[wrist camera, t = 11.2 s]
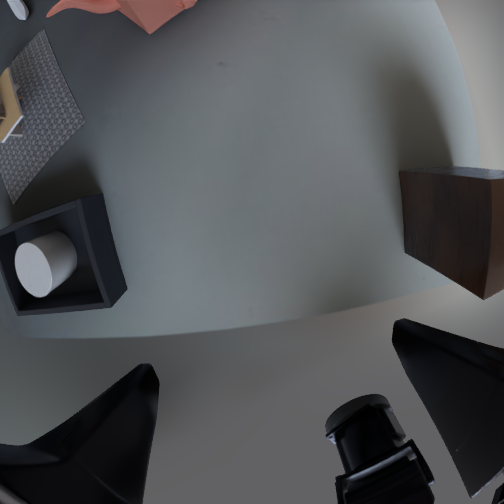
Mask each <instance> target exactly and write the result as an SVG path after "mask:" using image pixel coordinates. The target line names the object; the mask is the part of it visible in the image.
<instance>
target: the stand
mask: <svg viewBox="0 0 504 504" xmlns="http://www.w3.org/2000/svg"><path fill="white" fill-rule="evenodd" d="M399 174H400V183H401V192H402V203H403V216H404V235H405V253H406V254H408V255H410V256H412V257H414V258H415V259H417V260H419V261H421V262H422V263H424V264H426V265H428V266H429V267H431V268H433V269H434V270H436V271H438V272H439V273H441V274H443V275H444V276H446V277H448V278H449V279H451V280H453V281H454V282H456V283H457V284H459V285H461V286H462V287H464V288H465V289H467V290H469V291H470V292H472V293H473V294H475V295H476V296H478V297H479V298H481V299H482V300H485V299H487V298H489V297H491V296H492V295H494V294H496V293H498V292H499V291H501V290H503V289H504V171H501V170H493V169H482V168H471V167H457V166H452V167H438V168H426V169H415V170H405V171H399Z"/></svg>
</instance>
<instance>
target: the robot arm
mask: <svg viewBox="0 0 504 504" xmlns="http://www.w3.org/2000/svg"><path fill="white" fill-rule="evenodd" d="M392 343H393V346H394V348H395V350H396V352H397V355H398V356H399V359H400V361H401V363H402V366H403V368H404V370H405V372H406V374H407V376H408V378H409V379H410V381H411V383H412V384H413V386H414V388H415V390H416V391H417V393H418V395H419V397H420V398H421V400H422V402H423V404H424V405H425V407H426V409H427V411H428V413H429V414H430V416H431V418H432V420H433V422H434V423H435V425H436V427H437V429H438V431H439V433H440V435H441V437H442V439H443V440H444V443H445V445H446V447H447V449H448V451H449V452H450V455H451V456H452V459H453V461H454V463H455V465H456V467H457V469H458V471H459V474H460V476H461V478H462V480H463V482H464V485H465V487H466V489H467V492H468V494H469V496H470V497H471V498H472V497H474V496H475V495H476V494H478V493H479V492H480V491H482V490H483V489H484V488H486V487H487V486H488V485H490V484H491V483H492V482H493V481H495V480H496V479H497V478H498V477H499V476H500V475H502V474H503V475H504V349H503V348H499V347H495V346H491V345H487V344H484V343H481V342H477V341H474V340H471V339H468V338H465V337H461V336H458V335H455V334H452V333H449V332H446V331H442V330H439V329H436V328H433V327H430V326H427V325H424V324H421V323H418V322H414V321H411V320H408V319H405V318H404V319H400V320H397V321H395V323H394V326H393V335H392ZM158 396H159V379H158V377H157V375H156V373H155V371H154V369H153V367H152V365H151V364H149V363H146V364H145V363H144V364H139V365H138V366H137V367H135V368H134V369H133V370H132V371H130V372H129V373H128V374H127V375H125V376H124V377H123V378H121V379H120V380H119V381H117V382H116V383H115V384H114V385H112V386H111V387H110V388H108V389H107V390H106V391H105V392H103V393H102V394H101V395H99V396H98V397H97V398H95V399H94V400H93V401H91V402H90V403H89V404H88V405H86V406H85V407H84V408H82V409H81V410H80V411H79V412H77V413H76V414H74V415H73V416H72V417H70V418H69V419H68V420H66V421H65V422H64V423H62V424H60V425H59V426H57V427H56V428H54V429H53V430H51V431H49V432H48V433H46V434H45V435H43V436H41V437H40V438H38V439H36V440H34V441H33V442H31V443H29V444H26V445H20V446H17V445H6V444H0V504H143V497H144V490H145V483H146V476H147V470H148V464H149V458H150V452H151V446H152V441H153V435H154V430H155V425H156V419H157V409H158V408H157V407H158ZM405 436H406V435H405V433H404V431H403V429H402V427H401V426H400V424H399V422H398V420H397V418H396V417H395V415H394V413H393V412H391V411H389V410H387V409H385V408H379V407H377V406H375V405H373V404H371V403H368V404H366V405H365V406H363V407H362V408H361V409H360V410H358V411H357V412H356V413H355V414H353V415H352V416H351V417H349V418H348V419H347V420H345V421H344V422H343V423H341V424H340V425H339V426H337V427H336V428H334V429H333V430H332V431H330V432H329V433H327V434H326V439H328V440H331V441H334V442H336V445H337V449H338V452H339V455H340V458H341V461H342V464H343V467H344V470H345V473H346V474H343V475H339V476H337V477H336V483H335V486H336V492H337V499H338V504H434V495H433V493H432V491H431V489H430V487H429V486H430V485H432V484H434V483H435V480H434V477H433V475H432V472H431V470H430V468H429V466H428V465H427V463H426V461H425V459H424V458H423V456H422V454H421V453H420V451H419V449H418V448H417V446H416V444H415V443H414V441H413V440H412V439H410V440H409V441H408V442H407V443H404V441H403V439H404V438H405ZM412 458H414V459H413V460H411V461H410V459H412ZM492 504H504V483H503V484H502V485H501V486H500V487H499V488H498V489H496V491H495V495H494V498H493V501H492Z"/></svg>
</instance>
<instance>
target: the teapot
mask: <svg viewBox="0 0 504 504" xmlns="http://www.w3.org/2000/svg"><path fill="white" fill-rule="evenodd" d="M197 1H198V0H61V1H59V2H58V3H57V4H56V5H55V6H54V7H53V8H52V9H51V10H50V11H49V12H48V14H47V17H50V16H52V15H54V14H56V13H57V12H59V11H61V10H64V9H67V8H79V9H83V10H86V11H89V12H93V13H99V14H102V13H109V12H113V11H116V10H118V11H120V12H121V13H122V14H124V15H125V16H127V17H128V18H129V19H131V20H132V21H133V22H135V23H136V24H137V25H139V26H140V27H141V28H142V29H144V30H145V31H146V32H148V33H149V34H152V33H153V32H154V31H155V30H157V29H158V28H159V27H161V26H162V25H163V24H164V23H166V22H167V21H169V20H170V19H171V18H173V17H174V16H175V15H177V14H178V13H180V12H181V11H183V10H184V9H189V8H191V7H193V6H194V5H195V3H196V2H197Z"/></svg>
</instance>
